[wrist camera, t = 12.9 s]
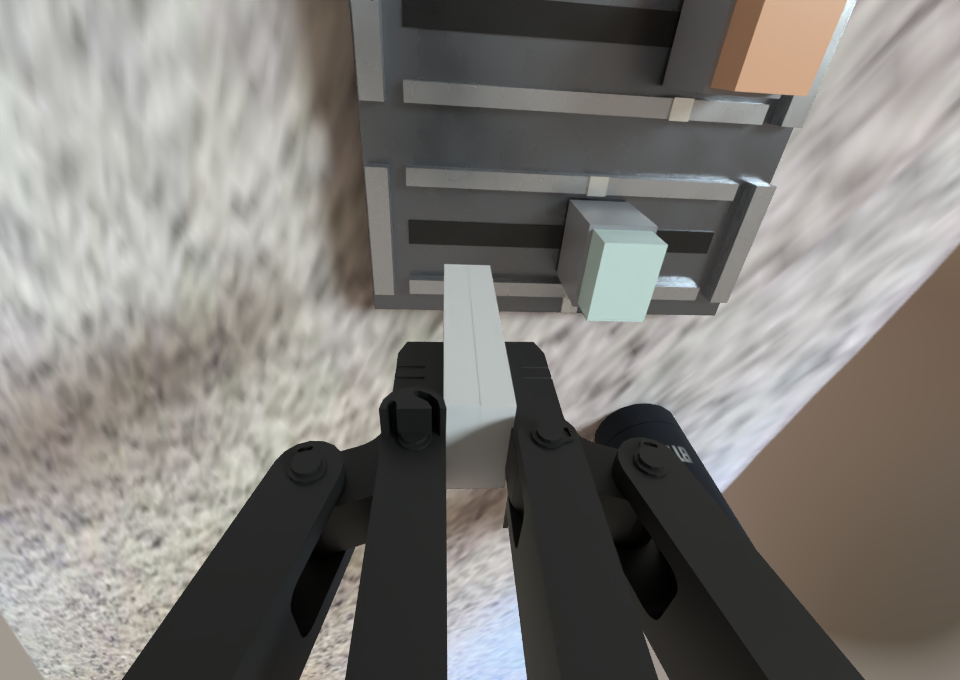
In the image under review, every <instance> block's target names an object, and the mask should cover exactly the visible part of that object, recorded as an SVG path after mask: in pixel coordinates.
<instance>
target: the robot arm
mask: <svg viewBox="0 0 960 680" xmlns="http://www.w3.org/2000/svg"><path fill="white" fill-rule="evenodd" d="M379 414H380V425H381V434H380V435H379V436H378V437H377V438H375V439H374V440H372V441H370V442H369V443H366V444H364V445H361V446H358V447H355V448H351V449H347V450H344V451H339V450H338V449H337V448H336V447H335V445H332V444H330V443H327V442H324V441H309V442H305V443H301V444H297V445H295V446H294V447H292V448H290V449H288V450H286V451H285V452H284V453H283V454H282V455H281V456H280V457H279V458H278V459H277V460H276V461H275V462H274V464H273V465H272V466H271V468H270V469H269V471H268V472H267V474H266V475H265V476H264V478H263V479H262V481H261V482H260V484H259V485H258V486H257V488H256V489H255V491H254V492H253V494H252V495H251V496H250V498H249V499H248V501H247V502H246V504H245V505H244V506H243V508H242V509H241V511H240V512H239V514H238V515H237V516H236V518H235V519H234V521H233V522H232V523H231V525H230V526H229V528H228V529H227V531H226V532H225V533H224V535H223V536H222V538H221V539H220V541H219V542H218V543H217V545H216V546H215V548H214V549H213V551H212V552H211V553H210V555H209V556H208V558H207V559H206V561H205V562H204V563H203V565H202V566H201V568H200V569H199V571H198V572H197V573H196V575H195V576H194V578H193V579H192V580H191V582H190V583H189V585H188V586H187V588H186V589H185V590H184V592H183V593H182V595H181V596H180V598H179V599H178V600H177V602H176V603H175V605H174V606H173V608H172V609H171V610H170V612H169V613H168V615H167V616H166V618H165V619H164V620H163V622H162V623H161V625H160V626H159V628H158V629H157V630H156V632H155V633H154V635H153V636H152V638H151V639H150V640H149V642H148V643H147V645H146V646H145V647H144V649H143V650H142V652H141V653H140V655H139V656H138V657H137V659H136V660H135V662H134V663H133V665H132V666H131V667H130V669H129V670H128V672H127V673H126V675H125V676H124V677H123V679H122V680H299V679H300V676H301V674H302V672H303V669H304V667H305V665H306V662H307V660H308V658H309V655H310V653H311V650H312V648H313V646H314V643H315V641H316V639H317V636H318V634H319V632H320V629H321V627H322V625H323V622H324V620H325V618H326V615H327V613H328V611H329V608H330V606H331V603H332V601H333V599H334V596H335V594H336V592H337V589H338V587H339V585H340V582H341V580H342V578H343V575H344V573H345V571H346V568H347V566H348V563H349V561H350V559H351V556H352V554H353V552H354V549H355V547H356V546H359V545H362V544H365V543H366V545H365V552H364V558H363V565H362V572H361V578H360V585H359V591H358V598H357V605H356V611H355V618H354V624H353V631H352V638H351V644H350V651H349V657H348V664H347V671H346V677H345V680H447V552H446V489H469V488H504V485H505V479H506V481H507V488H508V497H507V503H506V509H505V515H504V523H503V528H509V536H510V544H511V552H512V561H513V569H514V577H515V585H516V593H517V601H518V609H519V617H520V625H521V633H522V641H523V649H524V657H525V665H526V673H527V680H658V677H657V674H656V671H655V668H654V665H653V662H652V659H651V656H650V653H649V649H648V647H647V643H646V640H645V637H644V634H645V635H646V637H647V639H648V641H649V643H650V645H651V646H652V648H653V650H654V652H655V653H656V656H657V658H658V659H659V661H660V663H661V665H662V667H663V668H664V670H665V672H666V674H667V676H668V678H669V680H865V679H864V678H863V677H862V676H861V674H860V673H859V672H858V671H857V670H856V668H855V667H854V666H853V665H852V664H851V663H850V661H849V660H848V659H847V658H846V657H845V655H844V654H843V653H842V652H841V651H840V649H839V648H838V647H837V646H836V645H835V643H834V642H833V641H832V640H831V639H830V637H829V636H828V635H827V634H826V633H825V631H824V630H823V629H822V628H821V627H820V625H819V624H818V623H817V622H816V621H815V620H814V618H813V617H812V616H811V615H810V614H809V612H808V611H807V610H806V609H805V608H804V606H803V605H802V604H801V603H800V602H799V600H798V599H797V598H796V597H795V596H794V594H793V593H792V592H791V591H790V590H789V588H788V587H787V586H786V585H785V584H784V582H783V581H782V580H781V579H780V578H779V576H778V575H777V574H776V573H775V572H774V570H773V569H772V568H771V567H770V566H769V564H768V563H767V562H766V561H765V560H764V559H763V557H762V556H761V555H760V554H759V553H758V552H757V550H756V549H755V548H754V547H753V545H752V544H751V543H750V542H749V541H748V539H747V538H746V537H745V536H744V535H743V533H742V532H741V531H740V530H739V529H738V527H737V526H736V525H735V524H734V523H733V521H732V520H731V519H730V518H729V517H728V515H727V514H726V513H725V512H724V511H723V510H722V508H721V507H720V506H719V505H718V504H717V502H716V501H715V500H714V499H713V498H712V496H711V495H710V494H709V493H708V492H707V490H706V489H705V488H704V487H703V486H702V484H701V483H700V482H699V481H698V480H697V478H696V477H695V476H694V475H693V474H692V472H691V471H690V470H689V469H688V468H687V466H686V465H685V464H684V463H683V462H682V461H681V459H680V458H679V457H678V456H677V455H676V454H675V453H674V452H673V451H672V450H671V449H670V448H669V447H667V446H665V445H664V444H662V443H660V442H658V441H656V440H652V439H648V438H644V437H638V438H630V439H628V440H626V441H624V442H623V443H622V444H621V446H620V447H619V449H616V448H612V447H608V446H604V445H601V444H597V443H594V442H591V441H588V440H586V439H584V438H582V437H580V436H579V435H578V433H577V432H576V430H575V428H574V427H573V426H572V425H571V424H569V423H568V422H567V421H566V420H565V419H564V417H563V414H562V410H561V407H560V404H559V401H558V397H557V394H556V391H555V387H554V384H553V381H552V379H551V374H550V371H549V369H548V365H547V361H546V358H545V355H544V353H543V352H542V351H541V350H540V349H539V347H538V346H537V345H536V344H535V343H534V342H504V336H503V331H502V326H501V321H500V315H499V310H498V305H497V300H496V294H495V289H494V284H493V279H492V273H491V268H490V265H459V264H444V310H443V342H407V343H406V344H405V346H404V347H403V348H402V349H401V350H400V352H399V353H398V359H397V368H396V373H395V380H394V387H393V392H391V393H390V394H389V395H388V396H387V397H386V398H385V399H383V401H382V403H381V405H380V408H379ZM642 630H643V631H642ZM643 632H644V634H643Z"/></svg>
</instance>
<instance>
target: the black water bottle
mask: <svg viewBox="0 0 960 680" xmlns="http://www.w3.org/2000/svg"><path fill="white" fill-rule="evenodd" d="M638 437H644V438H648V439H652V440H656V441H658V442H660V443H662V444H664V445H665V446H667V447H669V448H670V449H671V450H672V451H673V452H674V453H675V454H676V455H677V456H678V457H679V458H680V459H681V461H682V462H683V463H684V464H685V465H686V466H687V468H688V469H689V470H690V471H691V472H692V474H693V475H694V476H695V477H696V478H697V480H698V481H699V482H700V483H701V484H702V486H703V487H704V488H705V489H706V490H707V492H708V493H709V494H710V495H711V496H712V498H713V499H714V500H715V501H716V502H717V504H718V505H719V506H720V507H721V508H722V510H723V511H724V512H725V513H726V514H727V515H728V517H729V518H730V519H731V520H732V521H733V523H734V524H735V525H736V526H737V527H738V529H739V530H740V531H741V532H742V533H743V535H744V536H745V537H746V538H747V539H748V541H749V542H750V543H751V544H752V542H751V541H750V539H749V538H748V536H747V534H746V533H745V531H744V529H743V528H742V526H741V525H740V523H739V521H738V520H737V518H736V517H735V515H734V514H733V512H732V510H731V508H730V507H729V505H728V504H727V502H726V500H725V499H724V497H723V496H722V494H721V492H720V491H719V489H718V488H717V486H716V484H715V483H714V481H713V479H712V478H711V476H710V475H709V473H708V471H707V470H706V468H705V467H704V465H703V463H702V462H701V460H700V458H699V457H698V455H697V454H696V452H695V450H694V449H693V447H692V446H691V444H690V442H689V441H688V439H687V438H686V436H685V434H684V433H683V431H682V429H681V428H680V426H679V425H678V423H677V421H676V420H675V418H674V417H673V415H672V414H671V412H670V411H668V410H666V409H665V408H663V407H661V406H658V405H653V404H636V405H632V406H629V407H625V408H622V409H621V410H619V411H617V412H615V413H613V414H611V415H610V416H609V417H608V418H607V419H606V420H604V421H603V422H602V424H601V425H600V427H599V428H598V430H597V431H596V436H595V443H597V444H601V445H604V446H608V447H612V448H616V449H619V447H620V446H621V444H622V443H623V442H624V441H626V440H628V439H630V438H638ZM752 545H753V544H752ZM753 547H754V546H753ZM754 548H755V547H754Z"/></svg>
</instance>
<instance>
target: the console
mask: <svg viewBox="0 0 960 680" xmlns="http://www.w3.org/2000/svg"><path fill="white" fill-rule="evenodd" d="M856 1H857V0H847V2H846V5H845V7H844V10H843V12H842V14H841V17H840V19H839V22H838V24H837V26H836V29H835V31H834V33H833V36H832V38H831V41H830V43H829V45H828V48H827V50H826V52H825V55H824V57H823V60H822V62H821V64H820V67H819V69H818V72H817V74H816V76H815V79H814V81H813V83H812V86H811V88H810V91H809V93H808V95H807V96H796V95H782V94H781V97H780V99H775V98H761V97H746V96H731V95H717V94H703V93H697V92H691V91H686V90H680V89H674V88H669V87H663V86H662V85H663V81H664V77H665V73H666V69H667V65H668V62H669V58H670V54H671V50H672V46H673V42H674V38H675V34H676V30H677V26H678V22H679V18H680V14H681V11H682V7H683V3H684V0H349V4H350V16H351V28H352V40H353V52H354V64H355V76H356V88H357V100H358V112H359V124H360V136H361V148H362V160H363V172H364V184H365V196H366V208H367V220H368V232H369V244H370V256H371V268H372V280H373V292H374V304H375V309H420V310H444V264H459V265H490V268H491V273H492V279H493V284H494V289H495V294H496V300H497V305H498V310H499V311H519V312H561V313H583V312H582V310H581V308H580V307H573V306H572V304H571V302H570V300H569V298H568V296H567V294H566V292H565V290H564V288H563V286H562V284H561V282H560V280H559V278H558V276H557V269H558V263H559V258H560V252H561V246H562V241H563V235H564V229H565V223H566V218H567V212H568V206H569V200H591V201H614V202H629V203H630V204H631V205H633V206H634V207H635V208H636V209H637V210H639V211H640V212H641V213H642V214H643V215H645V216H646V217H647V218H648V219H649V220H651V221H652V222H653V223H654V224H655V225H656V226H658V229H657V232H656V235H657V236H658V237H659V238H661V239H662V240H663V241H664V242H665V243H666V244H667V245H668V247H667V250H666V253H665V256H664V260H663V263H662V266H661V269H660V272H659V275H658V279H657V282H656V285H655V288H654V291H653V294H652V297H651V301H650V304H649V307H648V310H647V313H646V314H667V315H715V314H716V311H717V309H718V306H719V304H720V303H727V301H728V299H729V297H730V294H731V292H732V290H733V288H734V285H735V283H736V281H737V278H738V276H739V274H740V271H741V269H742V267H743V264H744V262H745V260H746V257H747V255H748V253H749V250H750V248H751V246H752V243H753V241H754V239H755V236H756V234H757V232H758V229H759V227H760V225H761V222H762V220H763V218H764V215H765V213H766V211H767V208H768V206H769V204H770V201H771V199H772V197H773V194H774V192H775V190H776V186H773V185H771V184H770V182H771V180H772V178H773V175H774V173H775V171H776V168H777V166H778V163H779V161H780V159H781V156H782V154H783V151H784V149H785V147H786V144H787V142H788V140H789V137H790V135H791V132H792V130H793V128H794V127H795V128H802V127H803V125H804V122H805V120H806V118H807V115H808V113H809V111H810V108H811V106H812V104H813V101H814V99H815V97H816V94H817V92H818V90H819V87H820V85H821V83H822V80H823V78H824V76H825V73H826V71H827V69H828V66H829V64H830V62H831V59H832V57H833V55H834V52H835V50H836V48H837V45H838V43H839V41H840V38H841V36H842V34H843V31H844V29H845V27H846V24H847V22H848V20H849V17H850V15H851V13H852V10H853V8H854V6H855V3H856Z"/></svg>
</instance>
